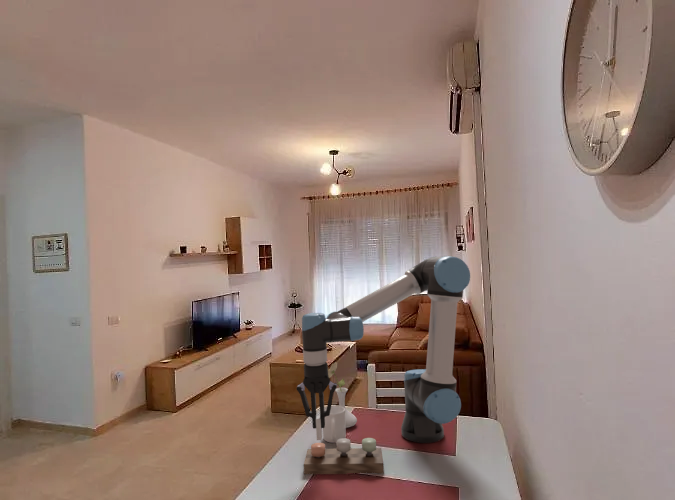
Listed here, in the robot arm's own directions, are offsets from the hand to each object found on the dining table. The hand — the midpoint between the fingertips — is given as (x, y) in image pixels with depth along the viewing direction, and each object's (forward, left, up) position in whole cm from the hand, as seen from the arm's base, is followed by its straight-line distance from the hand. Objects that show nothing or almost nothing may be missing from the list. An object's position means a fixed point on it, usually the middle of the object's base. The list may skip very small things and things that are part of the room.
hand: (319, 438), depth 128 cm
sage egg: (-15, 0, -5) cm, 16 cm away
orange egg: (+1, 0, -7) cm, 7 cm away
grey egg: (-7, 0, -5) cm, 9 cm away
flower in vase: (-5, -31, -9) cm, 33 cm away
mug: (-3, -18, -9) cm, 20 cm away
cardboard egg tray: (-7, 0, -9) cm, 11 cm away
